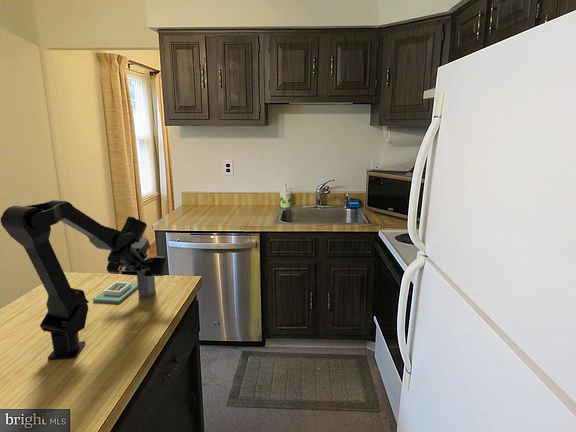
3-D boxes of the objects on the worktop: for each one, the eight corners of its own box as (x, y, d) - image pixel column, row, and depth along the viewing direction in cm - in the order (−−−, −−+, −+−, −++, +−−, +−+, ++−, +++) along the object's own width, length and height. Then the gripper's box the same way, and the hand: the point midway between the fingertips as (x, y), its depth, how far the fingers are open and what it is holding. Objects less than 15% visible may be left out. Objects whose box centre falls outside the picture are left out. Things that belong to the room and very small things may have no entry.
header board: (119, 303, 116) (118, 296, 115) (93, 301, 116) (92, 294, 116) (140, 285, 129) (140, 279, 128) (117, 284, 130) (116, 277, 129)
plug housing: (148, 297, 120) (145, 264, 117) (138, 297, 120) (135, 263, 117) (155, 291, 125) (153, 259, 122) (146, 290, 125) (143, 258, 122)
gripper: (163, 233, 112) (179, 254, 126) (107, 231, 114) (129, 252, 127) (154, 265, 107) (171, 284, 120) (95, 263, 108) (119, 281, 121)
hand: (147, 274), depth 122 cm, fingers open, 4 cm apart
